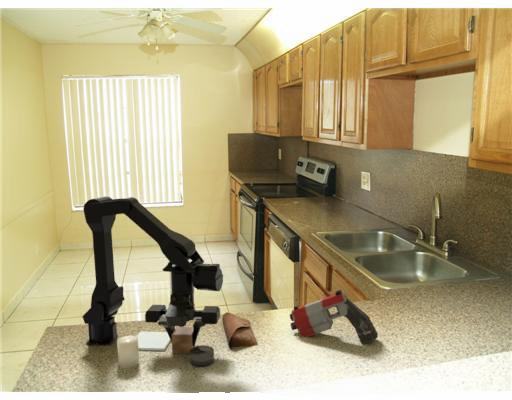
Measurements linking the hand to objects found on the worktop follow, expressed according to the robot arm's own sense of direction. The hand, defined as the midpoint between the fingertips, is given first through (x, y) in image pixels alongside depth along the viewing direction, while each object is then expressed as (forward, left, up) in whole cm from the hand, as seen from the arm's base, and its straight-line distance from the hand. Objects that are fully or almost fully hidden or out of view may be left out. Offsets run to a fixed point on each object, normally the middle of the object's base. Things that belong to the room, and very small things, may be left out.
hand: (184, 345), depth 118 cm
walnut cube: (0, 0, -1) cm, 1 cm away
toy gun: (+40, +11, -2) cm, 41 cm away
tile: (-10, +4, -1) cm, 11 cm away
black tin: (+6, -6, -1) cm, 9 cm away
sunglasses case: (+13, +11, -2) cm, 18 cm away
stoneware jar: (-12, -8, -1) cm, 14 cm away
